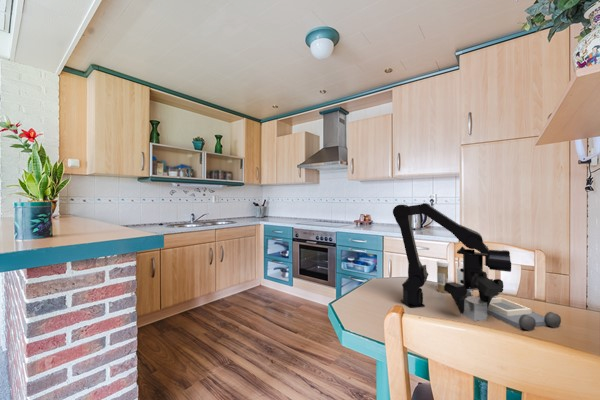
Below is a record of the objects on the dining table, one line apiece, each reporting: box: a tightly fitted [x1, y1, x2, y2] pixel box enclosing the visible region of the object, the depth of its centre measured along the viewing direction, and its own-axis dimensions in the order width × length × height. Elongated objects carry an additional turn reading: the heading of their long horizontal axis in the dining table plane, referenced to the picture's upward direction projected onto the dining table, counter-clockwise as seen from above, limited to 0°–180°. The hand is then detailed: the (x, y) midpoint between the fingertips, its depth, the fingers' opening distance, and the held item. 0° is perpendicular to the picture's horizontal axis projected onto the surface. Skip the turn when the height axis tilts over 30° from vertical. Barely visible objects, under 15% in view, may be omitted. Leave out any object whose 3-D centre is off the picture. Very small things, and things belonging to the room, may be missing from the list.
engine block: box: [459, 295, 488, 322], centre depth 89 cm, size 5×6×6 cm
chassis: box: [465, 291, 562, 332], centre depth 92 cm, size 14×25×4 cm, turn 11°
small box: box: [456, 265, 474, 296], centre depth 114 cm, size 8×6×10 cm
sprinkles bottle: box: [436, 260, 449, 294], centre depth 114 cm, size 5×5×14 cm
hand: (473, 312), depth 89 cm, fingers open, 9 cm apart
